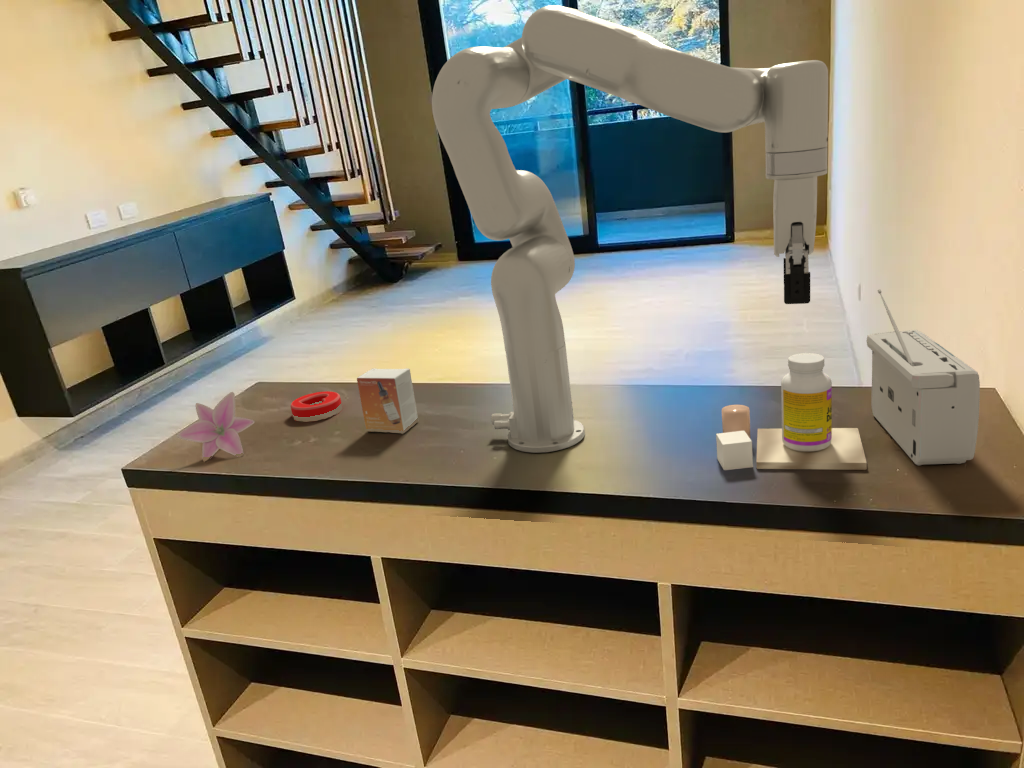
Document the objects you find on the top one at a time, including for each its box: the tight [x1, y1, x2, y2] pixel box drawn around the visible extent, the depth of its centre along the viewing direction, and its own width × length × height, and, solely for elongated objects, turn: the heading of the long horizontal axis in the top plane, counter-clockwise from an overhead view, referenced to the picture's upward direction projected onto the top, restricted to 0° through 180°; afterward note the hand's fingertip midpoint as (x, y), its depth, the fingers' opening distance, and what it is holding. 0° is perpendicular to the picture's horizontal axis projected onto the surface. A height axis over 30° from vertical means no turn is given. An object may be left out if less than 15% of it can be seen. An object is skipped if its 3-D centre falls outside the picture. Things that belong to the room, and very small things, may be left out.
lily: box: [176, 391, 256, 458], centre depth 145 cm, size 12×12×10 cm
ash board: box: [755, 427, 868, 471], centre depth 115 cm, size 14×12×1 cm
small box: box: [356, 368, 419, 431], centre depth 144 cm, size 8×6×10 cm
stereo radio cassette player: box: [866, 289, 981, 466], centre depth 112 cm, size 21×8×20 cm, turn 174°
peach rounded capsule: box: [721, 404, 752, 440], centre depth 121 cm, size 4×4×5 cm
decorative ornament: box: [290, 390, 342, 417], centre depth 159 cm, size 10×10×3 cm
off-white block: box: [715, 431, 754, 471], centre depth 114 cm, size 4×4×4 cm
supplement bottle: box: [780, 352, 833, 452], centre depth 113 cm, size 7×7×13 cm
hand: (796, 294), depth 110 cm, fingers open, 9 cm apart
